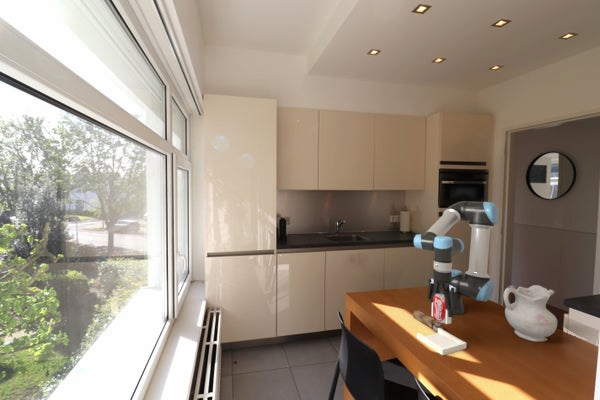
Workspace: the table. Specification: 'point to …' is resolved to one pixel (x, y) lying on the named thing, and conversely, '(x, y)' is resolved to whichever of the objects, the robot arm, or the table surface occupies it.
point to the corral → (442, 341)
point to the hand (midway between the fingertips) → (441, 319)
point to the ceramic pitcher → (530, 312)
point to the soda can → (439, 308)
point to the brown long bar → (426, 319)
